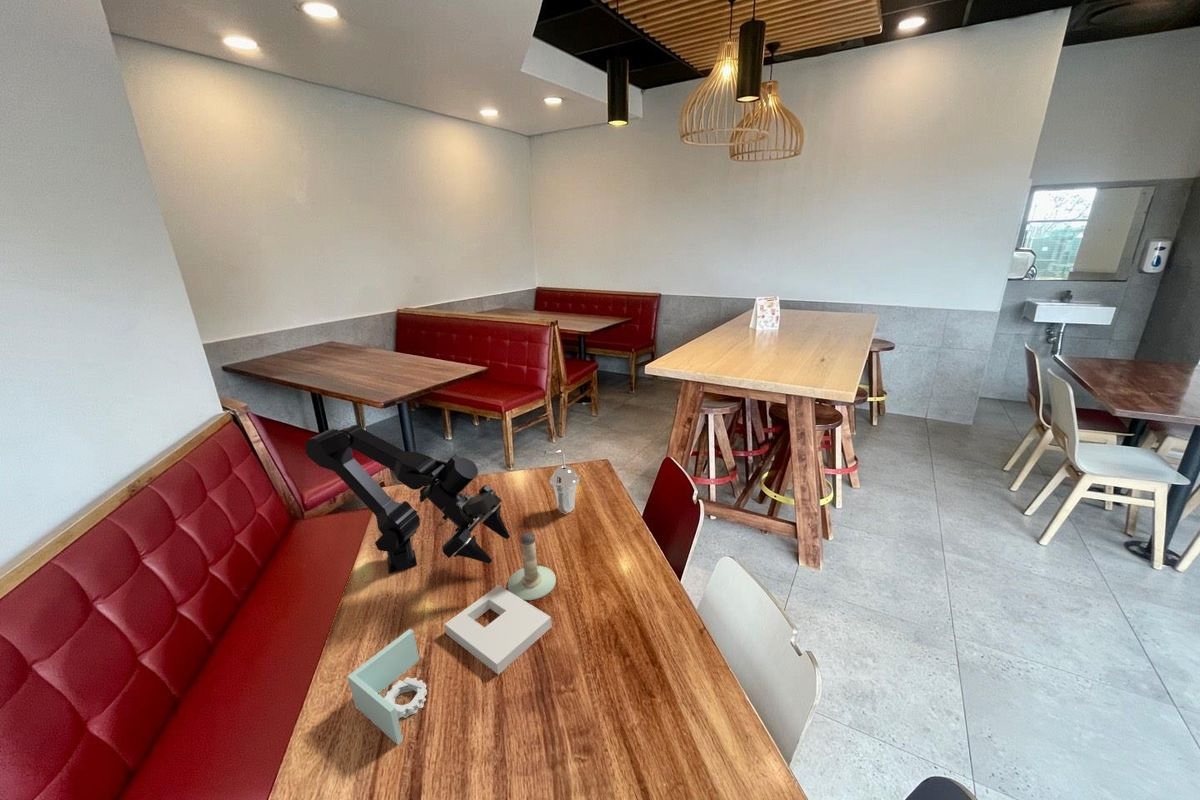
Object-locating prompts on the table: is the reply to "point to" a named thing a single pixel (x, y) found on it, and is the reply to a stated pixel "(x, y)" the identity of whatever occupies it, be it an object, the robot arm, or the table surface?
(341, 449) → the robot arm
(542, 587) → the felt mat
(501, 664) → the socket plate
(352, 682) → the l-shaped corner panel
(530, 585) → the key peg
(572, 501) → the cup with straw
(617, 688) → the table surface
